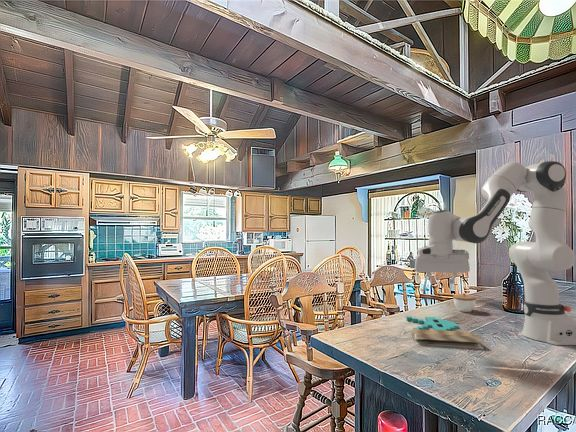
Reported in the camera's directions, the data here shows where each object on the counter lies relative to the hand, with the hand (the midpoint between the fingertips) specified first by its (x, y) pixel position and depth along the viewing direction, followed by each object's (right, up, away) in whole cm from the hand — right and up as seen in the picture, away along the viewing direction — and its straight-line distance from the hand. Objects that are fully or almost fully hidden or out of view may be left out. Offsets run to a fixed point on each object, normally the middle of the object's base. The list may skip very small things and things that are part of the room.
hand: (441, 283), depth 128 cm
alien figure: (+4, -25, +17) cm, 30 cm away
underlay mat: (0, -23, -2) cm, 23 cm away
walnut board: (+1, -23, +1) cm, 23 cm away
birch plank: (-1, -21, -5) cm, 22 cm away
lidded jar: (+33, -24, +42) cm, 59 cm away
